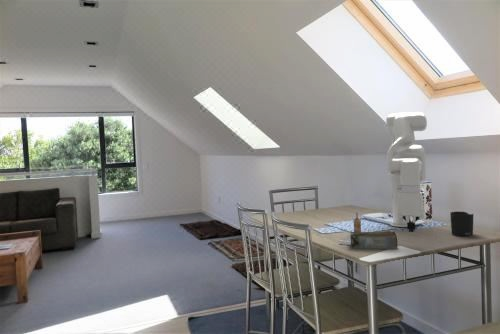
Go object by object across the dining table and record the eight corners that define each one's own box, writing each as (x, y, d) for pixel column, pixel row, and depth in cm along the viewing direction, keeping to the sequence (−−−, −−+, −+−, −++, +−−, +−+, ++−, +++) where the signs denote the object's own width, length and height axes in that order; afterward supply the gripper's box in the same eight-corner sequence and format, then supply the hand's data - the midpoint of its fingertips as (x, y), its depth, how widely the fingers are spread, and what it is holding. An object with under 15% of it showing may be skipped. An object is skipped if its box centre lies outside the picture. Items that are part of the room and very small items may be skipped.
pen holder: (450, 235, 176) (449, 214, 176) (451, 231, 184) (450, 211, 184) (473, 237, 171) (473, 215, 171) (473, 233, 179) (473, 212, 179)
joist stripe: (344, 236, 185) (344, 235, 185) (363, 237, 181) (363, 237, 181) (334, 244, 171) (334, 243, 171) (354, 245, 167) (354, 245, 167)
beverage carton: (350, 244, 170) (349, 230, 170) (396, 245, 165) (395, 230, 165) (350, 249, 162) (350, 234, 162) (398, 250, 158) (398, 234, 157)
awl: (355, 232, 192) (354, 211, 192) (361, 232, 190) (361, 211, 190) (353, 233, 189) (352, 212, 189) (360, 234, 188) (359, 212, 187)
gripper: (390, 190, 162) (391, 232, 164) (429, 190, 155) (429, 234, 157) (393, 187, 169) (394, 227, 170) (430, 187, 161) (431, 230, 163)
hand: (411, 231), depth 163 cm, fingers closed
